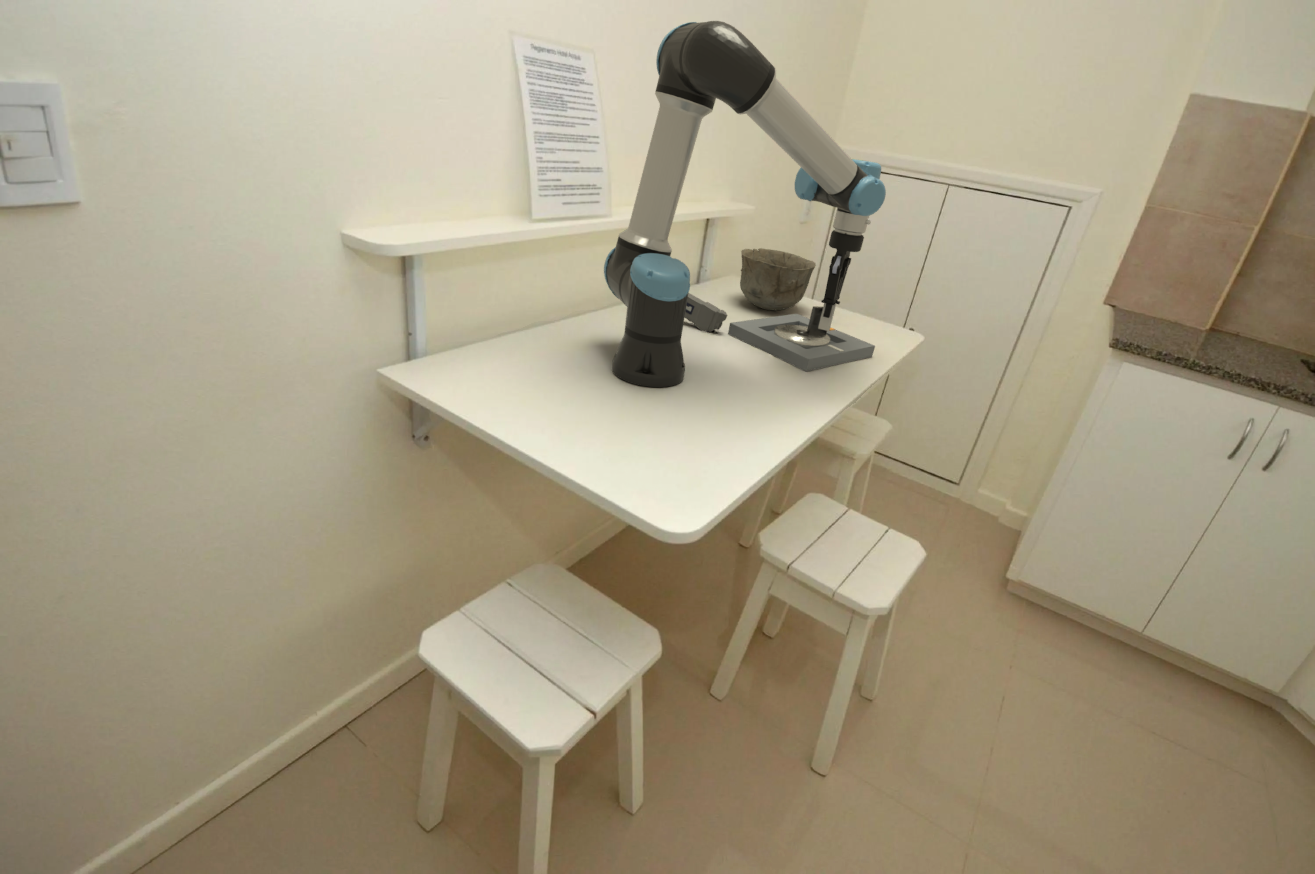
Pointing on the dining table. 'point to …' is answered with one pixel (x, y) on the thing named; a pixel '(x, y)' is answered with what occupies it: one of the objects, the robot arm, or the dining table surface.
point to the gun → (704, 314)
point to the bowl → (774, 278)
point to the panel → (806, 359)
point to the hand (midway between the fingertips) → (823, 329)
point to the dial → (805, 332)
